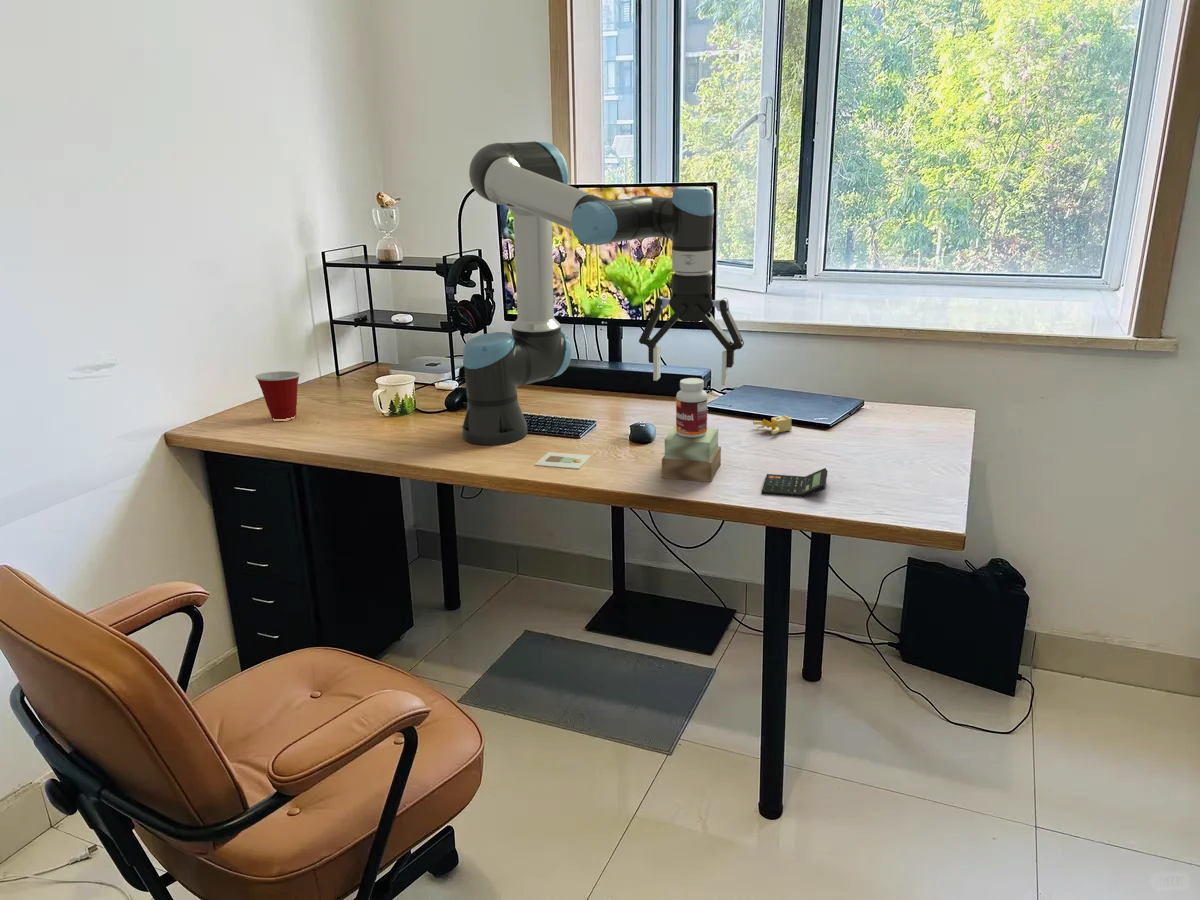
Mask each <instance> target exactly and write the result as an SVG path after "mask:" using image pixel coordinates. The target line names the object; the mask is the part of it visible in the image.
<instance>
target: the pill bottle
mask: <svg viewBox="0 0 1200 900" xmlns="http://www.w3.org/2000/svg"><path fill="white" fill-rule="evenodd" d="M704 382H705V381H704V379H702V378H698V377H688V378H683V379H680V381H679V389H680V390H679V391H677V393H676V396H675V408H676V409H675V416H676V417H675V418H676V419H675V424H676V425H675V426H676V432H677V434H678V435H679V436H682V437H687V438H698V437H701V436H704V435H705V434H706V433H707V428H708V393H707V391H705V390H704V386H705V383H704Z"/></svg>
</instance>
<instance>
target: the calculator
mask: <svg viewBox="0 0 1200 900" xmlns="http://www.w3.org/2000/svg"><path fill="white" fill-rule="evenodd" d="M827 477H828V470H827V468H826V467H824V468H822V469H819V470H817V471H815V472H812V473H810V474H808V475H806V476H800V475H799V476H798V475H788V474H787V475H786V474H773V473H766V476H765V479H764V482H763V485H762V487H761V495H765V496H767V495H768V496H780V497H781V496H782V497H795V498H806V497H809V496H811V495H815V494H816V493H819V492H823V491H825V490H826V488H827V487H826V485H827Z"/></svg>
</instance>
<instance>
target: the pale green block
mask: <svg viewBox="0 0 1200 900" xmlns="http://www.w3.org/2000/svg"><path fill="white" fill-rule="evenodd" d="M721 448H722V446H720V445H719V428H715V427H707V433H706V434H705V435H704V436H701V437H698V438H687V437H682V436H679V435H678V434H677V432H676V425H675V426H673V428H672V430H671V431H670V432H669V433H668V435H667V436H666V437H665V438H664V455H663V457H662V458H661V478H662V479H672V480H684V481H692V482H693V481H694V482H707V483H712V481H713V479H714V478H715V476H716V474H717V473H718V470H719V468H720V467H721V465H722V464H721V463H722V462H721V461H722V458H721V457H722V456H721V455H722V452H721V451H722V449H721Z"/></svg>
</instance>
